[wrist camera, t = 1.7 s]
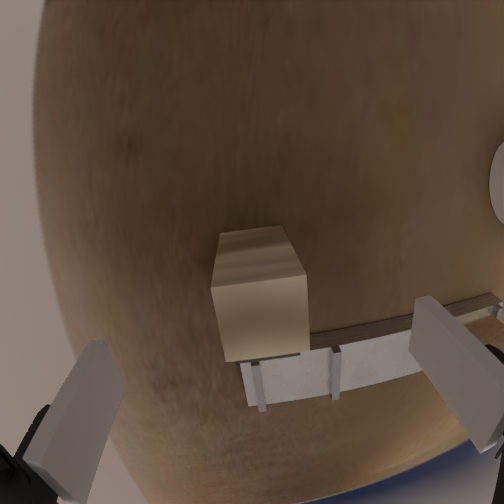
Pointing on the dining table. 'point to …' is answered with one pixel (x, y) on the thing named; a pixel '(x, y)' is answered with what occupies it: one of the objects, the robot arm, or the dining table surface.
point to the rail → (360, 355)
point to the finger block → (260, 296)
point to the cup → (497, 183)
